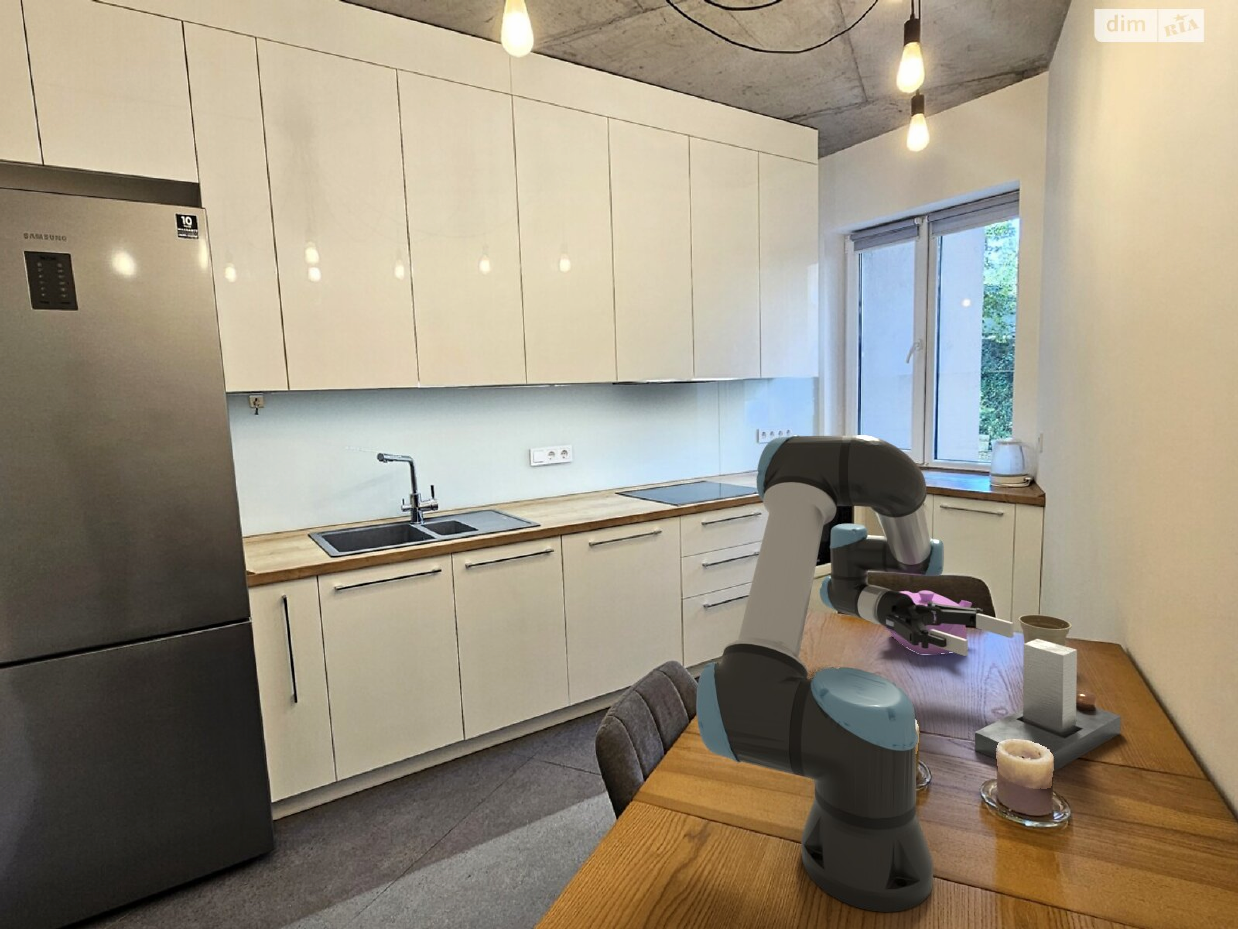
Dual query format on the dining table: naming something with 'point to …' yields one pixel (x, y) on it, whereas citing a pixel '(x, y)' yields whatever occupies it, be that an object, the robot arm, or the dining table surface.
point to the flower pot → (1044, 628)
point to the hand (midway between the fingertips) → (990, 639)
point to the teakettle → (951, 629)
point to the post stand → (1089, 734)
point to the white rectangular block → (1050, 687)
